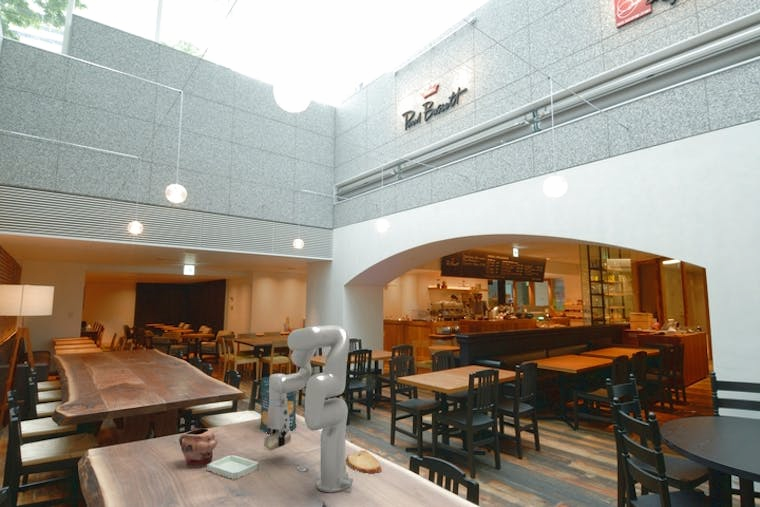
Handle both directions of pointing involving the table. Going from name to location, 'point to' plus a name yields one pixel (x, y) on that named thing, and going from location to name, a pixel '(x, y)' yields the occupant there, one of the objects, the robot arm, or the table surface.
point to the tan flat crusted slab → (363, 462)
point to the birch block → (275, 440)
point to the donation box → (265, 404)
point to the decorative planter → (198, 447)
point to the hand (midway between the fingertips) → (277, 444)
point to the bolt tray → (233, 466)
